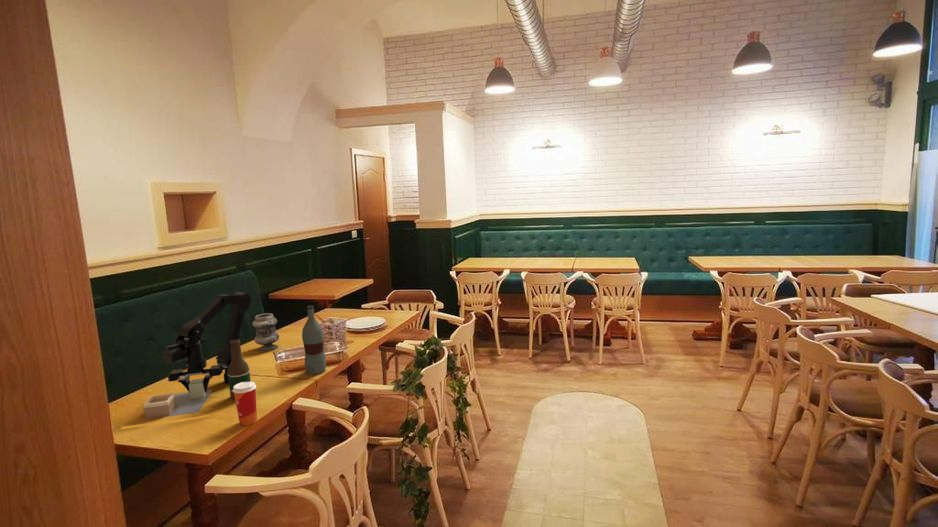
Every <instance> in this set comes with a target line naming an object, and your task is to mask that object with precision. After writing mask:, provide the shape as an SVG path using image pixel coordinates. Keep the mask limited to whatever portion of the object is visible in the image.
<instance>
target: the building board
mask: <svg viewBox="0 0 938 527" xmlns="http://www.w3.org/2000/svg"><path fill="white" fill-rule="evenodd" d="M213 390H214V389H207V394H206V395H205V397H201V398H194V399H190V393H189V392H188V391H187V392H181V393H175V392H173V393H166V394H160V395H159V394H157V395H151V396H150V397H149V398H148V399H147V400H146V401H145V403H144V404H143V411H144V420H145V421H146V420H152V419H159V418H160V419H161V418H167V417H175V416H181V415H189V414H195V413H196V414H197V413H200V411H201V410H202V408H203V406H204V405H205V403H206V401H207V400H208V398H209V397H210V395H211V393H212V392H213Z"/></svg>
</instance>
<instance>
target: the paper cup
mask: <svg viewBox="0 0 938 527" xmlns="http://www.w3.org/2000/svg"><path fill="white" fill-rule="evenodd" d="M256 388H257V385H256V383H255V382H254V381H250V382H241V383H238V384H236V385H235V386H234V387H233V392H234V396H235V406H236V411H237V412H236V413H237V418H238V421H239V425H240V426H241V427H248V426H252V425H254V424H256V423H257V421H258V416H257V396H256V395H257V394H256V392H257V391H256Z"/></svg>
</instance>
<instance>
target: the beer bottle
mask: <svg viewBox="0 0 938 527" xmlns="http://www.w3.org/2000/svg"><path fill="white" fill-rule="evenodd" d="M230 345H231V357H232V358H231V363H230V365H229V367H228V380H229V383H228V388H229V394H230V399H231V400H233V401H235V396H234V392H233V387H234V386H235V385H236V384H238V383H241V382H250V381H251V373H250V368H249V364H248V363H247V361H246V360H245V359H244V358H243V353H242V346H241V341H240V339H239V340H232V341H231V342H230ZM251 382H252V381H251Z"/></svg>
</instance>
